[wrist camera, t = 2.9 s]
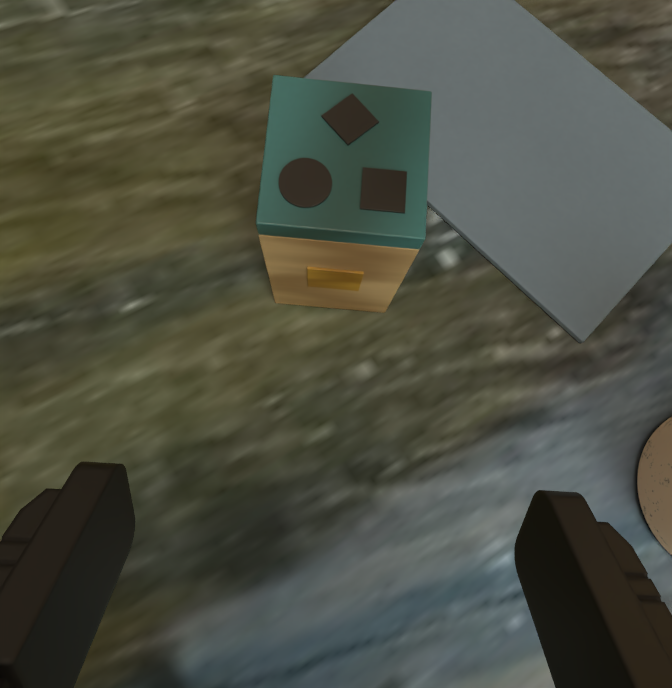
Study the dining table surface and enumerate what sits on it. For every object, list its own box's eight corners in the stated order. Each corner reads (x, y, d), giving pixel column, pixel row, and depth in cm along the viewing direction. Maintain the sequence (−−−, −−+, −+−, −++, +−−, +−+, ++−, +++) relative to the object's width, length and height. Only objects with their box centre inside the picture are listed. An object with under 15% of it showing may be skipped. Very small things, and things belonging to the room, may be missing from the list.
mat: (297, 87, 30) (297, 82, 30) (452, -44, 33) (454, -50, 32) (579, 343, 28) (583, 342, 27) (724, 181, 30) (729, 178, 30)
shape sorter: (274, 305, 27) (254, 225, 17) (286, 199, 29) (272, 69, 19) (385, 315, 28) (426, 241, 18) (391, 209, 29) (433, 85, 19)
